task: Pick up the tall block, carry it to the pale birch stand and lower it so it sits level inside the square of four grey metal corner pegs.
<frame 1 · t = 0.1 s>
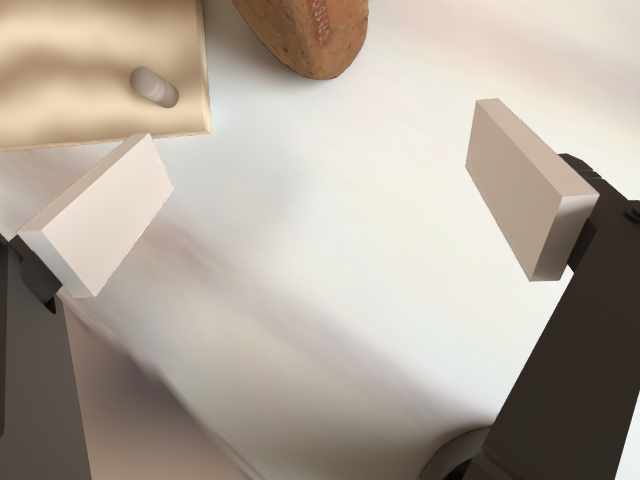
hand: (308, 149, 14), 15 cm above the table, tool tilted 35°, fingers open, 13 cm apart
block: (307, 29, 29), on the table
peg stand: (75, 9, 31), on the table
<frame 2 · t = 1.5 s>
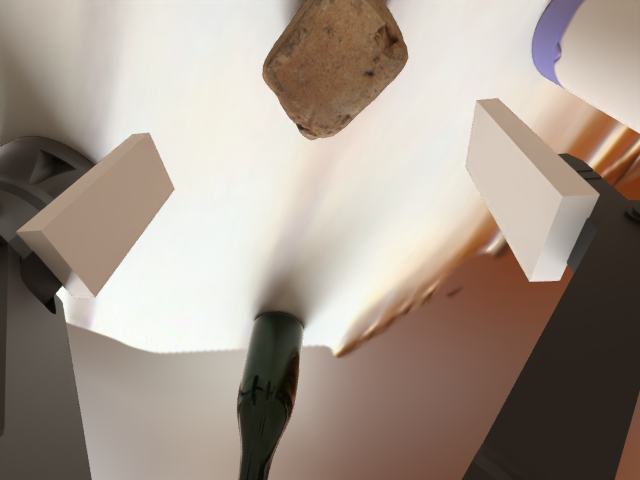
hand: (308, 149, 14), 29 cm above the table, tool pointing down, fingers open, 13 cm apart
container: (582, 29, 36), on the table
beer bottle: (279, 325, 71), on the table
block: (331, 30, 37), on the table
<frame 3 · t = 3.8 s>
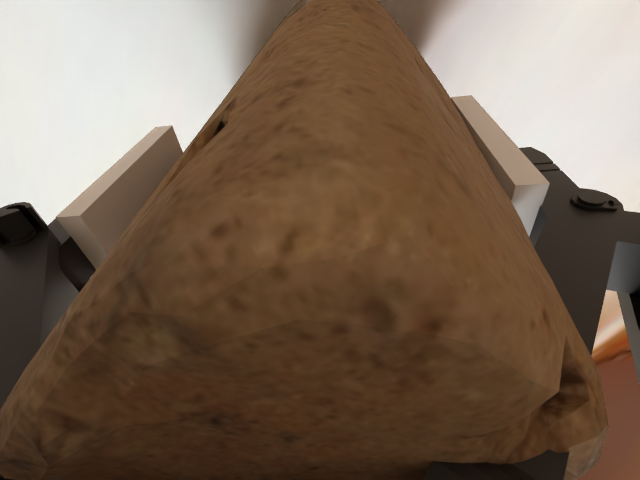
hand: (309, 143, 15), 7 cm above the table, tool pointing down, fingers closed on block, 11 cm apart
block: (317, 91, 20), on the table, touching gripper
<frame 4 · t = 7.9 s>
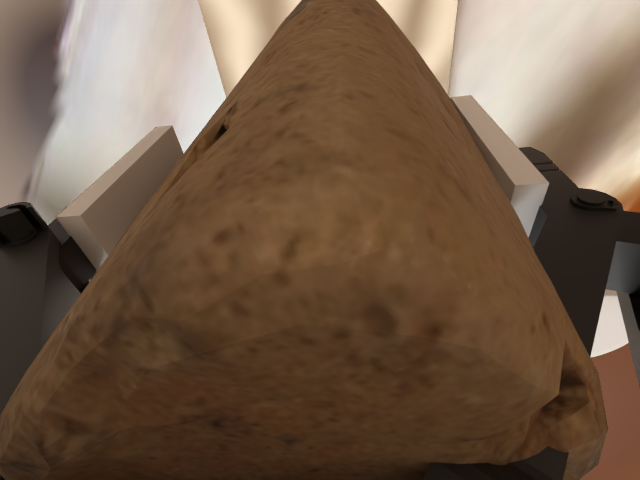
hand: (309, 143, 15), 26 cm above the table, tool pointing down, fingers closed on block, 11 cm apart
container: (506, 208, 47), on the table
block: (317, 91, 20), point 19 cm above the table, touching gripper
peg stand: (329, 30, 35), on the table
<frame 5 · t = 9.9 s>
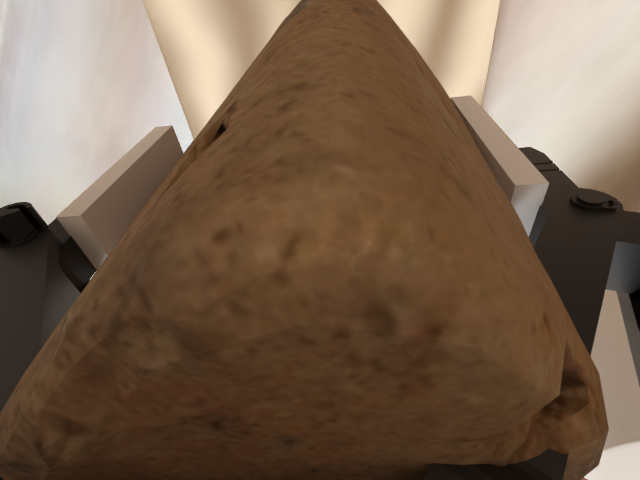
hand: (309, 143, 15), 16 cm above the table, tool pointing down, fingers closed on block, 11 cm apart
container: (537, 265, 39), on the table
block: (317, 91, 20), point 8 cm above the table, touching gripper
peg stand: (324, 59, 27), on the table
when the fingers open (10 cm above the table, at t = 11.8 s): block stays where it is, resting on peg stand.
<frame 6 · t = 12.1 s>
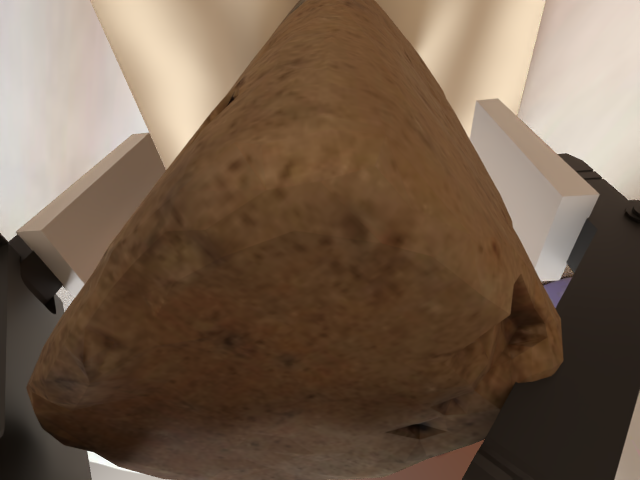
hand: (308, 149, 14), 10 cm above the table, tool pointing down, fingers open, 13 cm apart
container: (564, 307, 35), on the table
block: (318, 88, 21), point 1 cm above the table, touching peg stand
peg stand: (321, 80, 22), on the table
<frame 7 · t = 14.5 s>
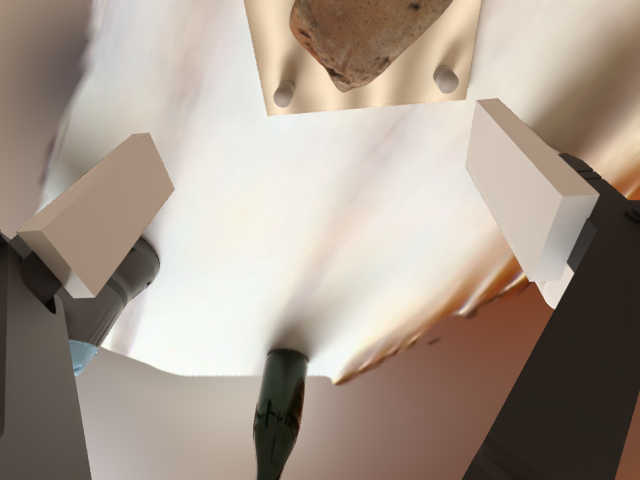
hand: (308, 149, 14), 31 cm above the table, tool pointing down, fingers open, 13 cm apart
container: (522, 176, 48), on the table
beer bottle: (287, 359, 84), on the table
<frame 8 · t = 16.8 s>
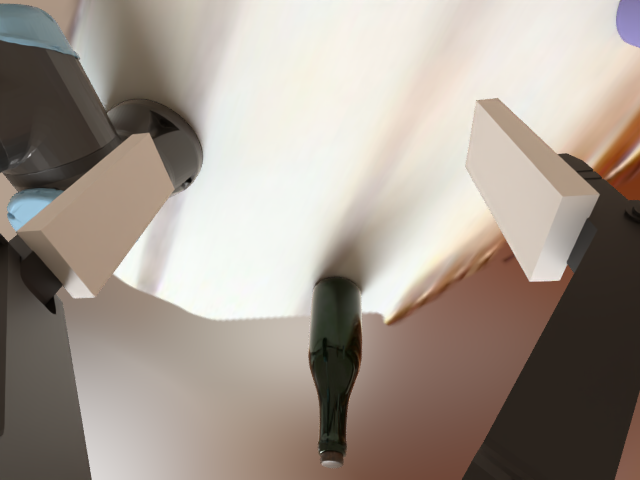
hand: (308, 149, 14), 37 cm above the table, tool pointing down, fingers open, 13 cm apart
beer bottle: (336, 291, 74), on the table
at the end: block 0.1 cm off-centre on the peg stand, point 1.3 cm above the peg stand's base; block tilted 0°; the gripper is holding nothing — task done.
